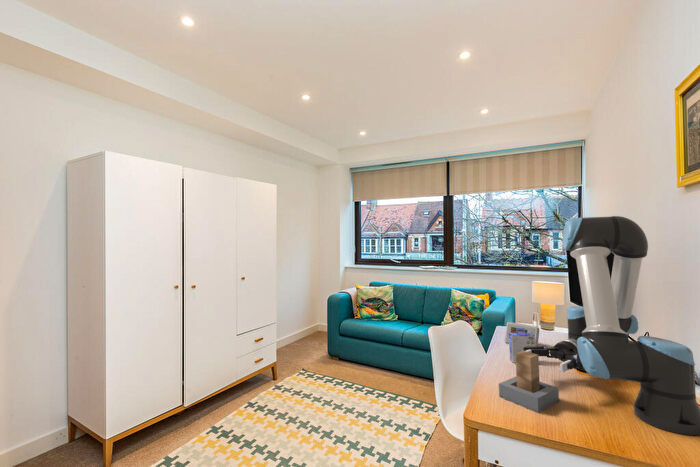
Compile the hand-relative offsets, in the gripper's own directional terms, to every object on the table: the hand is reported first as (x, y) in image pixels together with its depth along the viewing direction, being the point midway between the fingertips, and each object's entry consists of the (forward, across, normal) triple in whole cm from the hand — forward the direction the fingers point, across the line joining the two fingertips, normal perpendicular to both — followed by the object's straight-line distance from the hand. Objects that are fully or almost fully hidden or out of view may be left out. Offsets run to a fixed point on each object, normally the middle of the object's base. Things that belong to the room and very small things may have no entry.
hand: (540, 362), depth 114 cm
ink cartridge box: (-24, +20, -11) cm, 33 cm away
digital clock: (-46, +32, -11) cm, 57 cm away
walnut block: (+8, 0, -10) cm, 13 cm away
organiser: (+8, 0, -10) cm, 13 cm away
